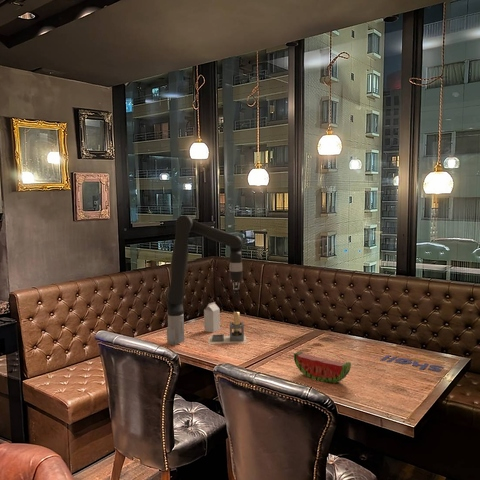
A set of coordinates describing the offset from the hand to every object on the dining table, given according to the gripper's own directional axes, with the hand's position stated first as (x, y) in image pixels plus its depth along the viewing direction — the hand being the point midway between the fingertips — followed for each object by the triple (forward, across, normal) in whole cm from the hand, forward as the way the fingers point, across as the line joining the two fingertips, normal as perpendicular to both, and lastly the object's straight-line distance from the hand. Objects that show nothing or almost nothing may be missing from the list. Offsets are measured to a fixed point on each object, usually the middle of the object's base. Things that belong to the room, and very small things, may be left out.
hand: (236, 297), depth 254 cm
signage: (+27, -41, -87) cm, 99 cm away
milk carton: (+27, +19, +15) cm, 36 cm away
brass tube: (+25, 0, 0) cm, 25 cm away
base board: (+26, 0, +6) cm, 27 cm away
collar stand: (+25, 0, +5) cm, 25 cm away
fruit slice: (+27, -57, -38) cm, 73 cm away
